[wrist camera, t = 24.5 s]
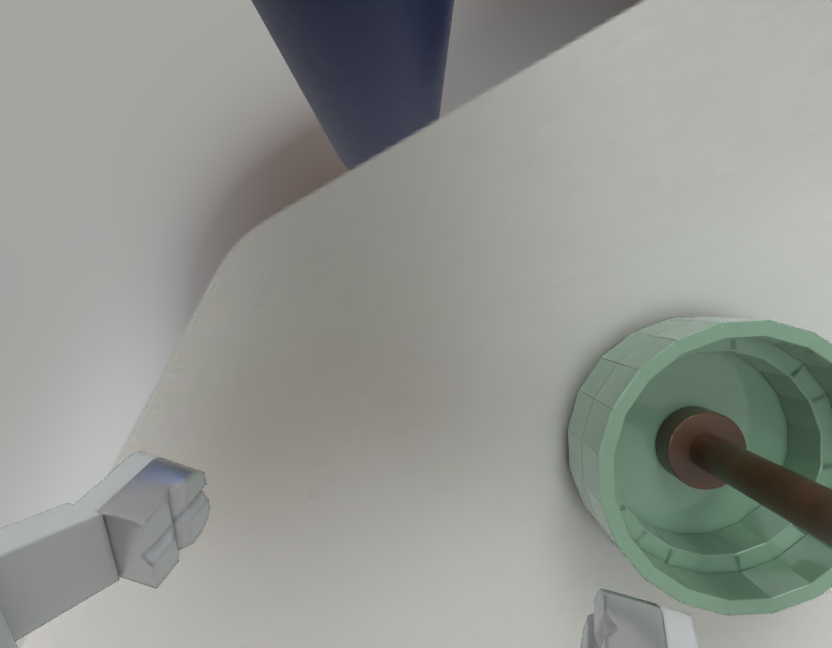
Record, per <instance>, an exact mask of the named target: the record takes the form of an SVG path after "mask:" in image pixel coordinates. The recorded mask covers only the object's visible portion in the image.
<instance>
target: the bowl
mask: <svg viewBox="0 0 832 648" xmlns="http://www.w3.org/2000/svg"><path fill="white" fill-rule="evenodd" d="M686 407H702V408H706V409H709V410H711V411H714V412H717V413H719V414H722V415H724V416H726V417H728V418H730V419H731V420H732V421H733V422H734V423H736V424H737V426H738V427H739V428H740V430H741V431H742V433H743V436H744V438H745V442H746V450H748V451H750V452H753V453H755V454H757V455H759V456H761V457H763V458H766V459H768V460H770V461H772V462H774V463H776V464H778V465H781V466H783V467H785V468H787V469H789V470H791V471H794V472H796V473H798V474H800V475H802V476H804V477H806V478H809V479H811V480H813V481H815V482H817V483H819V484H822V485H824V486H826V487H828V488H830V489H832V344H831V343H829V342H828V341H826V340H825V339H823V338H822V337H820V336H819V335H817V334H816V333H814V332H812V331H808V330H804V329H800V328H797V327H793V326H789V325H786V324H782V323H778V322H775V321H771V320H759V319H744V318H730V317H715V316H701V317H682V318H671V319H667V320H664V321H661V322H659V323H656V324H654V325H651V326H648V327H646V328H643V329H640V330H638V331H635V332H633V333H631V334H630V335H628V336H627V337H626V338H625V339H623V340H622V341H621V342H620V343H618V344H617V345H616V346H615V347H613V348H612V349H611V350H610V351H608V352H607V353H606V354H605V355H603V356H602V357H601V359H600V360H599V361H598V363H597V364H596V366H595V367H594V369H593V370H592V372H591V373H590V375H589V376H588V378H587V379H586V381H585V382H584V384H583V385H582V387H581V388H580V391H578V395H577V398H576V402H575V405H574V409H573V412H572V416H571V419H570V423H569V426H568V428H569V429H568V442H569V466H570V470H571V473H572V476H573V478H574V481H575V484H576V486H577V489H578V492H579V494H580V497H581V500H582V502H583V504H584V505H585V507H586V508H587V509H588V510H589V512H590V513H591V514H592V515H593V517H594V518H595V519H596V520H597V522H598V523H599V524H600V525H601V527H602V528H603V529H604V530H605V532H606V533H607V534H608V535H609V537H610V538H611V539H612V540H613V542H614V543H615V544H616V545H617V546H618V548H619V549H620V550H621V551H622V553H623V554H624V555H625V556H626V558H627V559H628V560H629V561H630V563H631V564H632V565H633V566H634V568H635V569H636V570H637V571H638V572H639V574H640V575H641V576H642V577H643V578H644V579H645V580H646V581H648V582H649V583H651V584H653V585H654V586H656V587H657V588H659V589H660V590H662V591H663V592H665V593H667V594H668V595H670V596H671V597H673V598H674V599H676V600H677V601H679V602H681V603H683V604H685V605H689V606H693V607H697V608H700V609H704V610H708V611H712V612H716V613H720V614H723V615H748V614H768V613H773V612H774V613H776V612H779V611H781V610H784V609H787V608H789V607H792V606H795V605H798V604H800V603H803V602H806V601H809V600H811V599H814V598H817V596H820V595H822V594H823V593H824V592H826V591H827V590H828V589H829V588H831V587H832V547H830V546H828V545H827V544H825V543H823V542H822V541H820V540H818V539H817V538H815V537H814V536H812V535H810V534H809V533H807V532H805V531H804V530H802V529H800V528H799V527H797V526H795V525H794V524H792V523H790V522H789V521H787V520H785V519H784V518H782V517H780V516H779V515H777V514H775V513H774V512H772V511H771V510H769V509H767V508H766V507H764V506H762V505H761V504H759V503H757V502H756V501H754V500H752V499H751V498H749V497H747V496H746V495H744V494H742V493H741V492H739V491H737V490H736V489H734V488H732V487H731V486H729V485H727V484H726V485H724V486H722V487H719V488H716V489H710V490H702V489H696V488H693V487H690V486H688V485H686V484H684V483H683V482H682V481H680V480H679V479H677V478H676V477H674V476H673V475H672V474H670V473H669V472H668V471H667V470H666V469H665V468H664V467H663V466H662V464H661V463H660V461H659V459H658V456H657V453H656V436H657V432H658V430H659V428H660V426H661V424H662V423H663V422H664V420H665V419H666V418H667V417H668V416H669V415H671V414H672V413H674V412H675V411H677V410H679V409H682V408H686Z"/></svg>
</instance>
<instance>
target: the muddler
mask: <svg viewBox="0 0 832 648" xmlns="http://www.w3.org/2000/svg"><path fill="white" fill-rule="evenodd" d="M656 453H657V456H658V459H659V461H660V463H661V464H662V466H663V467H664V468H665V469H666V470H667V471H668V472H669V473H670V474H672V475H673V476H674V477H676V478H677V479H679V480H680V481H682V482H683V483H684V484H686V485H688V486H690V487H693V488H696V489H702V490H710V489H716V488H719V487H722V486H724V485H726V484H727V485H729V486H731V487H732V488H734V489H736V490H737V491H739V492H741V493H742V494H744V495H746V496H747V497H749V498H751V499H752V500H754V501H756V502H757V503H759V504H761V505H762V506H764V507H766V508H767V509H769V510H771V511H772V512H774V513H775V514H777V515H779V516H780V517H782V518H784V519H785V520H787V521H789V522H790V523H792V524H794V525H795V526H797V527H799V528H800V529H802V530H804V531H805V532H807V533H809V534H810V535H812V536H814V537H815V538H817V539H818V540H820V541H822V542H823V543H825V544H827V545H828V546H830V547H832V489H830V488H828V487H826V486H824V485H822V484H819V483H817V482H815V481H813V480H811V479H809V478H806V477H804V476H802V475H800V474H798V473H796V472H794V471H791V470H789V469H787V468H785V467H783V466H781V465H778V464H776V463H774V462H772V461H770V460H768V459H766V458H763V457H761V456H759V455H757V454H755V453H753V452H750V451H748V450H746V442H745V438H744V436H743V433H742V431H741V430H740V428H739V427H738V426H737V424H736V423H734V422H733V421H732V420H731V419H730V418H728V417H726V416H724V415H722V414H719V413H717V412H714V411H711V410H709V409H706V408H702V407H686V408H682V409H679V410H677V411H675V412H674V413H672V414H671V415H669V416H668V417H667V418H666V419H665V420H664V422H663V423H662V424H661V426H660V428H659V430H658V432H657V436H656Z"/></svg>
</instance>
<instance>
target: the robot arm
mask: <svg viewBox="0 0 832 648" xmlns="http://www.w3.org/2000/svg"><path fill="white" fill-rule="evenodd" d="M206 484H207V483H206V478H205V473H204V472H202V471H199V470H196V469H193V468H190V467H187V466H184V465H181V464H178V463H175V462H172V461H169V460H166V459H163V458H160V457H157V456H153V455H150V454H147V453H144V452H137V453H134V454H132V455H130V456H129V457H128V458H127V459H125V460H124V461H123V462H122V463H121V464H120V465H119V466H117V467H116V468H115V469H114V470H113V471H112V472H111V473H109V474H108V475H107V476H106V477H105V478H104V479H103V480H101V481H100V482H99V483H98V484H97V485H96V486H95V487H93V488H92V489H91V490H90V491H89V492H88V493H87V494H86V495H84V496H83V497H82V498H81V499H80V500H79V501H78V502H76V503H75V504H71V503H66V504H63V505H61V506H58V507H55V508H53V509H50V510H47V511H45V512H42V513H40V514H37V515H35V516H32V517H29V518H26V519H24V520H21V521H18V522H16V523H13V524H10V525H8V526H5V527H2V528H0V648H18V647H17V645H16V642H15V641H17V640H19V639H20V638H22V637H24V636H25V635H27V634H29V633H30V632H32V631H34V630H35V629H37V628H39V627H41V626H42V625H44V624H46V623H47V622H49V621H51V620H52V619H54V618H56V617H57V616H59V615H61V614H62V613H64V612H66V611H67V610H69V609H71V608H73V607H74V606H76V605H78V604H79V603H81V602H83V601H84V600H86V599H88V598H89V597H91V596H93V595H94V594H96V593H98V592H100V591H101V590H103V589H105V588H106V587H108V586H110V585H111V584H113V583H115V582H116V581H118V580H119V579H120V578H119V577H121V578H125V579H128V580H131V581H134V582H137V583H140V584H144V585H147V586H150V587H153V588H156V589H157V588H158V586H159V585H160V584H161V583H162V582H163V580H164V579H165V578H166V577H167V575H168V574H169V573H170V572H171V570H172V569H173V568H174V567H175V565H176V564H177V563H178V562H179V550H181V549H183V548H185V547H187V546H189V545H191V544H193V543H194V542H195V540H196V539H197V538H198V536H199V535H200V534H201V532H202V531H203V528H204V526H205V524H206V522H207V520H208V515H209V509H210V506H209V499H208V498H207V496H206V495H205V494H204V492H203V491H202V489H203V488H204V486H205V485H206ZM580 648H699V647H698V642H697V637H696V632H695V627H694V622H693V620H692V618H691V616H690V615H689V614H687V613H683V612H680V611H677V610H673V609H670V608H666V607H663V606H660V605H657V604H655V603H651V602H648V601H644V600H641V599H637V598H634V597H630V596H627V595H623V594H619V593H616V592H612V591H609V590H605V589H602V588H601V589H600V590H599V591H598V592H597V594H596V597H595V599H594V613H593V614H591V615H589V616H588V617H587V620H586V623H585V625H584V629H583V634H582V639H581V645H580Z"/></svg>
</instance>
